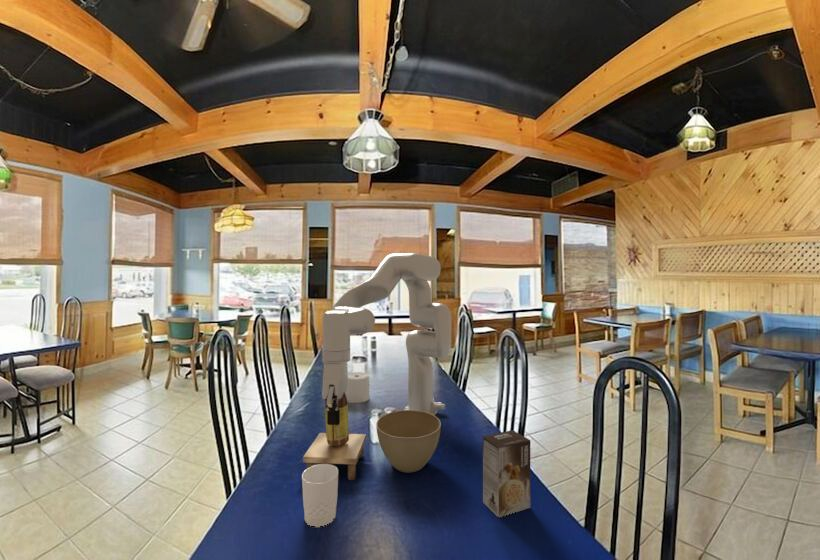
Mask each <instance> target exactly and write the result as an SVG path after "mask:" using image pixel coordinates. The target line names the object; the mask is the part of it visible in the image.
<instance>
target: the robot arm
mask: <svg viewBox="0 0 820 560" xmlns="http://www.w3.org/2000/svg"><path fill="white" fill-rule="evenodd" d="M441 272H442V271H441V264H440V261H439V260H438V259H437V258H436V257H434V256H431V255H426V254H422V253H421V254H420V253H416V252H402V253H401V252H400V253H398V252H397V253H390V254H388V255H386V256H385V257H384V259H383V260H382V261H381V262H380V264H379V265H378V266H377V268H376V269H375V270H374V272H373V273H372V274H371V275H370V277H369V278H368V279H367V280H364V282H362V283H359V284H358V285H356V286H354V287H353V288H351V289H349V290H347V291H346V292H345V293H344V294H343V295H342V296H340V298H339V299H338V300H337V301H336V303H334V304H333V306H332V308H331V309H330V310H327V311H325V312H324V313H323V314H322V319H321V320H322V323H321V324H322V328H321V329H322V332H321V333H322V363H323V364H324V365H323V374H322V395H321V396H322V397H321V398H322V400H324V401H325V399H326V398H327V423H328V425H339V423H340V410H338V407H339V399H341V398H342V396H343V394H344V393H345V392H346V390H347V388H348V373H349V371H348V370H349V369H348V368H349V367H348V366H349V365H348V362H350V361H351V336H352V335H365V334H367V333H369V332H371V330H372V329H374V326H375V324H376V317H375V315H374V314H373V312H372V311H371V310H369V309H368V308H365V307H364V306H367V305H369V304H374V303H377V302H381V301H383V300H385V299H387V298H388V297H389V296H391V293H392V292H393V291H394V289H395V288H396V286H397V285H398V283H399V282H400V281H401V280H402V281H403V282H404V284H405V285H406V287H407V290H408V306H409V308H408V310H409V314H408V315H409V321H410V323H411V325H412V326H413V327H414V326H415V327H416V328H424V329H425V328H426V329H433V330H434V331H433V330H424V329H414V330H412V331H410V332H409V333H408V334H407V335H406V338H405V347H406V353H407V363H408V364H407V365H408V369H407V370H408V373H407V377H408V378H407V380H408V381H407V382H408V384H407V385H408V389H407V390H408V391H407V393H408V394H407V397H408V400H407V403H408V405H406V406H405V407H404V409H403V410H417V411H423V412H427V413H430V414H432V415H434V416H436V414H437V413H438V410H446V403H442V401H441V402H440V401H438V402H436V401H435V399H434V365H433V362H432V360H431V358H435V359H446V358H448V356H449V355H450V353H451V350H452V314H451V311H450V308H449V306H447V304H444V303H440V302H433V301H432V289H431V285H430V284H429V282H433V281H435V280H436V279H438V278H439V277H440V274H441ZM345 395H346V394H345ZM333 396H337V398H333ZM333 401H336V405H335V403H333Z"/></svg>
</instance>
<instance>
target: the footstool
mask: <svg viewBox="0 0 820 560" xmlns="http://www.w3.org/2000/svg"><path fill="white" fill-rule="evenodd" d="M366 440H367V434H365V433H364V434H363V433H349V440H348V442H347V443H346V444H344V445H341V446H332V445H329V444H328V442H327V438H326V432H319V433H318V435H317V436H316V438H315V439H314V441H313V442H312V443H311V444H310V446H309V448H308V449H307V451H305V453H304V455H303V457H302V458H303V459H302V463H306V469H307V468H309V467H311V466H314V465H316V464H331V465H334V464H335V465H336V464H337V465H347V480H349V481H353V480H355V479H356V478H357V477H356V468H357V467H356V465H357V463H358V461H359V459H363V458H364V457H365V456H364V449H365V448H364V446H365V443H366Z"/></svg>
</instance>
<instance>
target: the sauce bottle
mask: <svg viewBox="0 0 820 560" xmlns="http://www.w3.org/2000/svg"><path fill="white" fill-rule="evenodd" d="M333 398H337V396H333ZM333 403H335V405H336V401H333ZM348 405H349V404H348V402H347V398H346V395H345V393H344V394H343V396H342V398H341V399H339V407H338V410H340V423H339V425H328V423H327V398H326V399H325V400H324V413H325V414H324V415H325V433H326V438H327V442H328V444H329V445H332V446H341V445H344V444H346V443H347V442H348V440H349V434H350V427H349V423H350V422H349V407H348Z"/></svg>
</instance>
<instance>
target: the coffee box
mask: <svg viewBox="0 0 820 560" xmlns="http://www.w3.org/2000/svg"><path fill="white" fill-rule="evenodd" d="M482 503H483V504H484V505H485V506H486V507H487V508H488V509H489V510H490V511H491V512H492V513H493V514H494V515H495V516H496V517H497V518H498V517H499V518H498V519H500V517H501V518H503V516H504V517H507V516H509V514H510V515H512V513H513V514H515V512H516V513H519V512H521V511H525V510H527V509H531V439H529V438H528V437H526V436H524V435H522V434H521V433H519V432H516V431H515V430H512V429H511V430H507V431H503V432H497V433H493V434H489V435H485V436H484V435H483V436H482ZM506 515H507V516H506Z"/></svg>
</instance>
